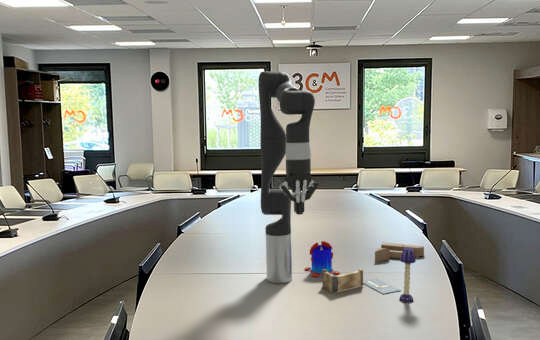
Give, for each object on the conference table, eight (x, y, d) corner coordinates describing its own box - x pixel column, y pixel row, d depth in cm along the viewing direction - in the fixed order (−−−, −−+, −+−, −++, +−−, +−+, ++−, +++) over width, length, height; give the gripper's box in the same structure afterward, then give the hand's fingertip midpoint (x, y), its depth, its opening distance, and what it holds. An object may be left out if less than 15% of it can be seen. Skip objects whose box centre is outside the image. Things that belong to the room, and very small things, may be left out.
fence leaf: (334, 292, 159) (334, 277, 158) (331, 291, 160) (331, 276, 160) (364, 285, 165) (364, 270, 165) (361, 284, 167) (360, 269, 166)
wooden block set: (381, 239, 209) (424, 243, 201) (381, 252, 209) (424, 256, 202) (372, 249, 193) (418, 253, 186) (372, 263, 194) (418, 267, 186)
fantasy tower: (312, 278, 176) (312, 246, 175) (302, 269, 187) (301, 239, 186) (342, 275, 179) (342, 243, 178) (330, 266, 190) (329, 236, 189)
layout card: (359, 281, 171) (359, 280, 171) (376, 278, 173) (376, 277, 173) (383, 294, 158) (383, 293, 158) (400, 290, 160) (400, 289, 160)
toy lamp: (412, 297, 154) (412, 246, 153) (417, 302, 150) (417, 250, 148) (397, 297, 154) (397, 247, 153) (402, 303, 150) (402, 250, 148)
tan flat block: (321, 286, 167) (321, 269, 166) (325, 285, 167) (325, 268, 167) (331, 292, 161) (331, 274, 160) (335, 291, 161) (335, 274, 161)
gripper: (311, 155, 151) (312, 210, 153) (273, 158, 146) (274, 214, 148) (323, 157, 144) (324, 214, 146) (283, 159, 139) (284, 218, 141)
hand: (299, 214), depth 147 cm, fingers closed
